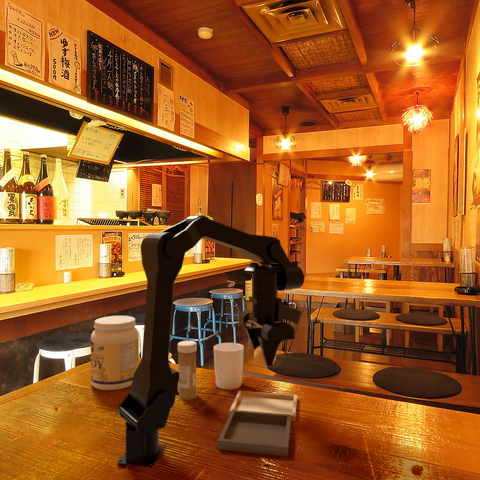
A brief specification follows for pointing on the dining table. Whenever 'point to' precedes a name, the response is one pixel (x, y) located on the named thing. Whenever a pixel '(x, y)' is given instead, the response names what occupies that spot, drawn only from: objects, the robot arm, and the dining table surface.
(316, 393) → the dining table surface
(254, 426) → the dish
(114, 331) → the supplement tub
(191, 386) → the sprinkles bottle
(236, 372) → the white cup
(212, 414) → the dining table surface
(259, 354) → the ball
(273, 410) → the tray
